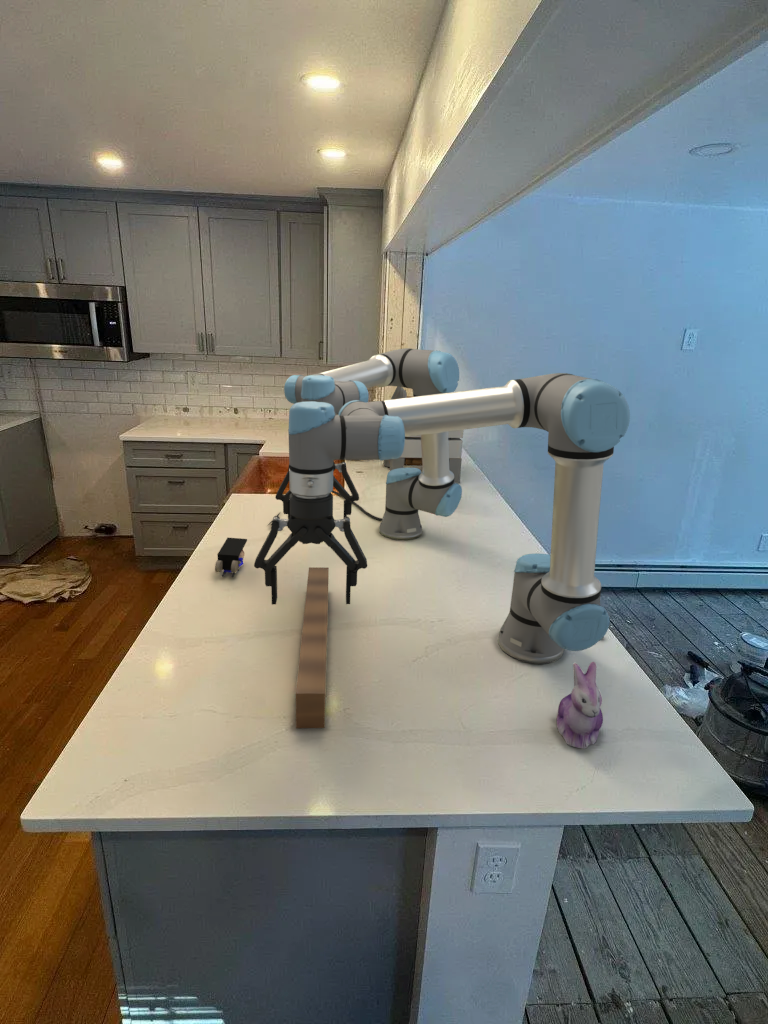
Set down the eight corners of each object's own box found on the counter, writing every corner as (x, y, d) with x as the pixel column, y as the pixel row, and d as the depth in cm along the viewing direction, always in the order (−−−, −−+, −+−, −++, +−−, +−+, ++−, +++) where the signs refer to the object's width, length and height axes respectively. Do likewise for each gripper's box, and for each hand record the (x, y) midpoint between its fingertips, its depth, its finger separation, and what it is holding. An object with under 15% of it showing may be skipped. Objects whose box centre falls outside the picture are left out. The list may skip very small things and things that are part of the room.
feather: (287, 506, 225) (290, 502, 224) (270, 530, 198) (272, 526, 198) (283, 504, 225) (286, 500, 224) (265, 527, 198) (268, 523, 197)
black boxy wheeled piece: (238, 584, 162) (249, 557, 175) (236, 562, 158) (247, 536, 172) (215, 584, 161) (227, 556, 175) (212, 561, 158) (225, 535, 171)
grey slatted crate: (382, 463, 289) (386, 382, 275) (445, 464, 293) (451, 384, 279) (390, 482, 257) (394, 392, 243) (460, 483, 261) (468, 394, 247)
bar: (308, 593, 156) (308, 567, 153) (328, 593, 156) (328, 567, 154) (296, 728, 106) (295, 693, 104) (324, 727, 107) (325, 693, 104)
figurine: (580, 758, 102) (595, 689, 97) (541, 722, 110) (552, 657, 105) (617, 742, 106) (633, 675, 101) (577, 709, 114) (589, 645, 109)
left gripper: (262, 445, 130) (265, 531, 137) (371, 447, 132) (368, 532, 139) (266, 438, 137) (268, 520, 144) (369, 440, 139) (366, 521, 146)
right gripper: (234, 498, 94) (240, 611, 101) (384, 500, 96) (379, 610, 103) (241, 485, 101) (246, 591, 108) (381, 487, 103) (376, 591, 110)
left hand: (317, 526), depth 141 cm, fingers open, 13 cm apart
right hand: (311, 601), depth 106 cm, fingers open, 13 cm apart
